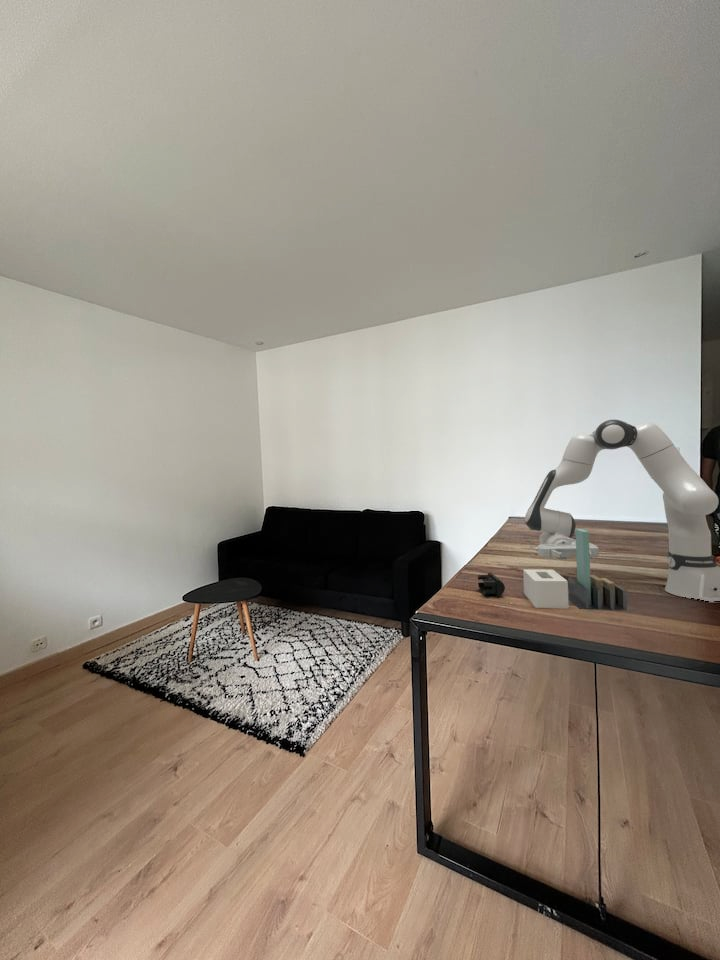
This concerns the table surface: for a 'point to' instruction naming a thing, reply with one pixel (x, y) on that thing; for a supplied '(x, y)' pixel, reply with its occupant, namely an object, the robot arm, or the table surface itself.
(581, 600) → the rack
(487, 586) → the end cap
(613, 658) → the table surface
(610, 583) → the offcut small
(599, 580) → the offcut tall
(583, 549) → the tall sheet
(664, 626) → the table surface
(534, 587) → the holder
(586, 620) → the table surface
